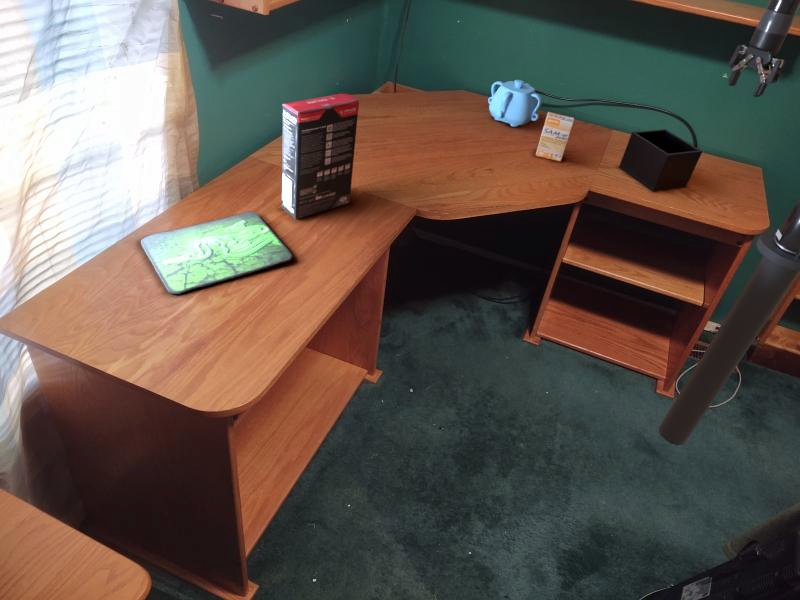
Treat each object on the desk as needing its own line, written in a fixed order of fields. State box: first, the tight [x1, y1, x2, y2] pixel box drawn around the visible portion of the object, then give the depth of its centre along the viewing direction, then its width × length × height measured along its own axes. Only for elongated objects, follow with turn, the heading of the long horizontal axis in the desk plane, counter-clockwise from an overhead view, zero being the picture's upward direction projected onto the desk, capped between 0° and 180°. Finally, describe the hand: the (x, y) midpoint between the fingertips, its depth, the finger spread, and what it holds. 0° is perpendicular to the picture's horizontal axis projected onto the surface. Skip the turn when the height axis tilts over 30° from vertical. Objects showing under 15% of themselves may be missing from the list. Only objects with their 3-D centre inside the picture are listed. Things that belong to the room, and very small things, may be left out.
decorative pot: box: [487, 79, 543, 128], centre depth 204 cm, size 16×16×14 cm
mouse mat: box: [140, 211, 293, 295], centre depth 130 cm, size 27×22×1 cm
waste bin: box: [618, 128, 703, 193], centre depth 181 cm, size 16×14×12 cm
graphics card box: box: [281, 92, 360, 220], centre depth 141 cm, size 17×7×27 cm, turn 131°
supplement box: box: [535, 111, 575, 163], centre depth 184 cm, size 8×5×13 cm, turn 73°
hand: (743, 90), depth 166 cm, fingers open, 8 cm apart
